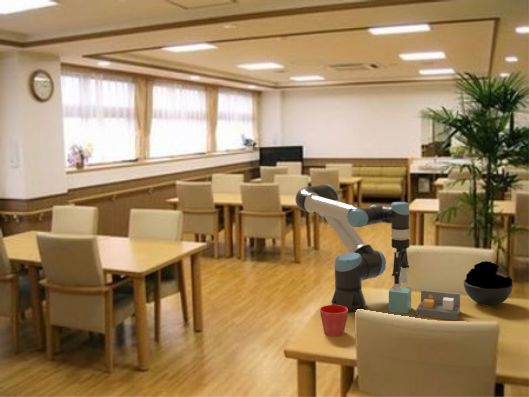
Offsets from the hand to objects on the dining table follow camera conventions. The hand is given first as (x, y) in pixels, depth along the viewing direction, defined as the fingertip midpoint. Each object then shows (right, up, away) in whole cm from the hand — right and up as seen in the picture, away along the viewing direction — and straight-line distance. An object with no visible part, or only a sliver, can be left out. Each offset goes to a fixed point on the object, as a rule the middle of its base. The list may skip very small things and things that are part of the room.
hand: (400, 286), depth 235 cm
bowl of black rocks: (+39, -9, +5) cm, 41 cm away
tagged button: (+11, -10, -4) cm, 15 cm away
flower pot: (-32, -15, -23) cm, 42 cm away
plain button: (+18, -9, -7) cm, 21 cm away
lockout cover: (0, -10, +2) cm, 10 cm away
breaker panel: (+14, -11, -5) cm, 19 cm away
